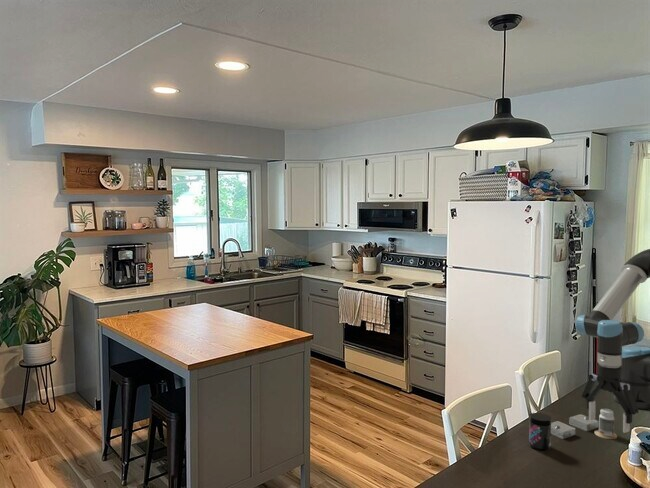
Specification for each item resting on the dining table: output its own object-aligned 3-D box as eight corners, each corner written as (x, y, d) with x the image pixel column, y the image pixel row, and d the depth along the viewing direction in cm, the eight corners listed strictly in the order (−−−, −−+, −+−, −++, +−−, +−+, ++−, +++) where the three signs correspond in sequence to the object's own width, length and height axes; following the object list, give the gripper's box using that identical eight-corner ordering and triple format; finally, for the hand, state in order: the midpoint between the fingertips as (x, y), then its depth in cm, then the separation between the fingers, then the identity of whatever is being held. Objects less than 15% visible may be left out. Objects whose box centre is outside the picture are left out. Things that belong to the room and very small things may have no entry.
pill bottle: (615, 437, 173) (617, 413, 172) (601, 435, 174) (602, 412, 173) (610, 431, 177) (612, 408, 177) (596, 430, 178) (597, 407, 178)
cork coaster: (602, 429, 180) (602, 428, 180) (621, 436, 174) (621, 435, 174) (590, 433, 177) (590, 432, 177) (609, 441, 171) (609, 439, 171)
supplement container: (528, 440, 171) (529, 411, 170) (550, 444, 168) (551, 414, 168) (528, 449, 164) (529, 419, 164) (550, 453, 162) (552, 422, 161)
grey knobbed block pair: (580, 420, 188) (580, 413, 187) (598, 427, 181) (598, 420, 181) (545, 431, 178) (545, 423, 178) (562, 439, 172) (563, 431, 172)
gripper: (571, 358, 182) (570, 415, 184) (638, 376, 161) (637, 440, 163) (584, 355, 186) (583, 411, 187) (651, 372, 165) (650, 435, 166)
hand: (608, 425), depth 175 cm, fingers open, 12 cm apart
